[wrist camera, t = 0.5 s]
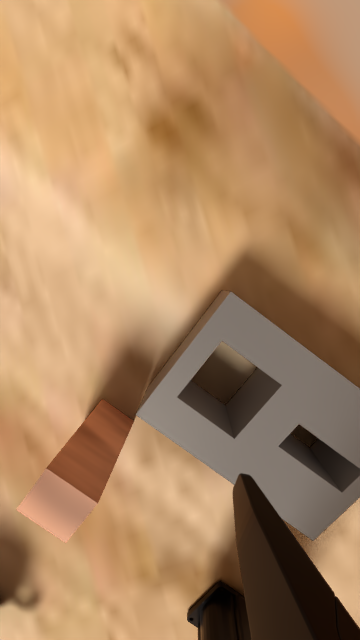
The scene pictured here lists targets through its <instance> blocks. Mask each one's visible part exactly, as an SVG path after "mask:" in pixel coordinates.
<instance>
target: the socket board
mask: <svg viewBox="0 0 360 640" xmlns="http://www.w3.org/2000/svg"><path fill="white" fill-rule="evenodd" d="M221 341H223V342H224V343H226V344H227V345H228V346H230V347H231V348H232V349H234V350H235V351H236V352H238V353H239V354H240V355H242V356H243V357H244V358H246V359H247V360H249V361H250V362H251V363H253V364H254V365H255V366H257V367H258V368H257V369H256V370H255V371H254V373H253V374H252V375H251V376H250V377H249V378H248V380H247V381H246V382H245V383H244V384H243V385H242V387H241V388H240V389H239V390H238V391H237V393H236V394H235V395H234V396H233V397H232V398H231V400H230V401H229V402H228V403H227V404H226V405H224V404H223V403H221V402H220V401H219V400H217V399H216V398H214V397H213V396H212V395H210V394H209V393H208V392H206V391H205V390H203V389H202V388H201V387H199V386H198V385H197V384H195V383H194V382H192V381H191V379H192V378H193V376H194V375H195V374H196V373H197V371H198V370H199V369H200V368H201V366H202V365H203V364H204V363H205V361H206V360H207V359H208V358H209V356H210V355H211V354H212V353H213V351H214V350H215V349H216V348H217V346H218V345H219V344H220V343H221ZM136 415H137V416H138V417H139V418H141V419H142V420H144V421H145V422H146V423H148V424H149V425H151V426H152V427H154V428H155V429H156V430H158V431H159V432H161V433H162V434H163V435H165V436H166V437H168V438H169V439H170V440H172V441H173V442H175V443H176V444H177V445H179V446H180V447H182V448H183V449H185V450H186V451H187V452H189V453H190V454H192V455H193V456H194V457H196V458H197V459H199V460H200V461H201V462H203V463H204V464H206V465H207V466H208V467H210V468H211V469H213V470H214V471H215V472H217V473H218V474H220V475H221V476H223V477H224V478H225V479H227V480H228V481H230V482H231V483H232V484H234V485H235V483H236V480H237V477H238V475H239V474H240V473H243V474H249V475H251V476H252V478H253V479H254V480H255V482H256V483H257V485H258V486H259V487H260V489H261V490H262V492H263V493H264V495H265V496H266V497H267V499H268V500H269V502H270V503H271V504H272V506H273V507H274V509H275V510H276V511H277V513H278V514H279V516H280V517H281V518H282V519H283V520H284V521H286V522H287V523H289V524H290V525H292V526H293V527H294V528H296V529H297V530H299V531H300V532H301V533H303V534H304V535H306V536H307V537H308V538H310V539H311V540H313V541H314V540H315V539H316V538H317V537H318V536H319V535H320V534H321V533H322V532H323V531H324V530H325V529H327V528H328V527H329V526H330V525H331V524H332V523H333V522H334V521H335V520H336V519H337V518H338V517H339V516H340V515H341V514H343V513H344V512H345V511H346V510H347V509H348V508H349V507H350V506H351V505H352V504H353V503H354V502H355V501H356V500H357V499H358V498H360V389H359V388H358V387H357V386H356V385H354V384H353V383H352V382H350V381H349V380H348V379H346V378H345V377H344V376H342V375H341V374H340V373H338V372H337V371H336V370H334V369H333V368H332V367H330V366H329V365H328V364H326V363H325V362H324V361H322V360H321V359H320V358H318V357H317V356H316V355H314V354H313V353H312V352H310V351H309V350H308V349H306V348H305V347H304V346H302V345H301V344H300V343H299V342H297V341H296V340H295V339H293V338H292V337H291V336H289V335H288V334H287V333H285V332H284V331H283V330H281V329H280V328H279V327H277V326H276V325H275V324H273V323H272V322H271V321H269V320H268V319H267V318H265V317H264V316H263V315H261V314H260V313H259V312H257V311H256V310H255V309H253V308H252V307H251V306H249V305H248V304H247V303H245V302H244V301H243V300H242V299H240V298H239V297H238V296H236V295H235V294H234V293H232V292H231V291H224V290H222V291H221V292H220V294H219V295H218V296H217V298H216V299H215V300H214V301H213V303H212V304H211V305H210V307H209V308H208V309H207V311H206V312H205V313H204V315H203V316H202V317H201V318H200V320H199V321H198V322H197V324H196V325H195V326H194V328H193V329H192V330H191V331H190V333H189V334H188V335H187V337H186V338H185V339H184V341H183V342H182V343H181V345H180V346H179V347H178V348H177V350H176V351H175V352H174V354H173V355H172V356H171V358H170V359H169V360H168V362H167V363H166V364H165V365H164V367H163V368H162V369H161V371H160V372H159V373H158V375H157V376H156V377H155V379H154V380H153V381H152V382H151V384H150V385H149V386H148V388H147V390H146V393H145V395H144V397H143V399H142V402H141V404H140V406H139V408H138V410H137V413H136ZM299 424H300V425H301V426H302V427H304V428H305V429H306V430H308V431H309V432H311V433H312V434H313V435H315V436H316V437H317V438H319V439H318V440H317V441H316V442H315V443H314V444H313V445H312V446H311V447H310V448H309V447H308V446H306V445H305V444H304V443H302V442H301V441H300V440H298V439H297V438H296V437H294V436H293V435H291V434H290V433H291V432H292V431H293V430H294V429H295V428H296V427H297V426H298V425H299Z"/></svg>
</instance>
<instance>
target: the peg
mask: <svg viewBox="0 0 360 640" xmlns="http://www.w3.org/2000/svg"><path fill="white" fill-rule="evenodd" d="M133 422H134V421H133V420H132V419H130V418H129V417H127V416H126V415H125V414H123V413H122V412H120V411H119V410H118V409H116V408H115V407H113V406H112V405H111V404H109V403H108V402H106V401H105V400H103V399H102V400H101V401H100V402H99V404H98V405H97V406H96V407H95V409H94V410H93V411H92V412H91V414H90V415H89V416H88V417H87V418H86V420H85V421H84V422H83V423H82V425H81V426H80V427H79V428H78V430H77V431H76V432H75V433H74V435H73V436H72V437H71V438H70V440H69V441H68V442H67V443H66V445H65V446H64V447H63V448H62V449H61V451H60V452H59V453H58V454H57V456H56V457H55V458H54V459H53V461H52V462H51V463H50V464H49V466H48V467H47V468H46V469H45V471H44V472H43V474H42V475H41V476H40V478H39V479H38V480H37V482H36V483H35V485H34V486H33V487H32V489H31V490H30V491H29V493H28V494H27V496H26V497H25V498H24V500H23V501H22V502H21V504H20V505H19V507H18V508H17V509H16V510H17V511H19V512H20V513H22V514H23V515H25V516H26V517H28V518H29V519H31V520H32V521H34V522H35V523H37V524H38V525H40V526H41V527H43V528H44V529H45V530H47V531H48V532H50V533H51V534H53V535H54V536H56V537H57V538H59V539H60V540H62V541H63V542H65V543H66V542H67V541H68V540H69V538H70V537H71V536H72V535H73V534H74V532H75V531H76V530H77V529H78V527H79V526H80V525H81V524H82V522H83V521H84V520H85V519H86V517H87V516H88V515H89V514H90V512H91V511H92V510H93V509H94V507H95V506H96V505H97V504H98V502H99V499H100V497H101V495H102V493H103V490H104V488H105V486H106V483H107V481H108V479H109V477H110V474H111V472H112V470H113V468H114V465H115V463H116V461H117V458H118V456H119V454H120V452H121V449H122V447H123V445H124V443H125V440H126V438H127V436H128V433H129V431H130V429H131V427H132V424H133Z"/></svg>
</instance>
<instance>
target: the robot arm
mask: <svg viewBox="0 0 360 640" xmlns="http://www.w3.org/2000/svg"><path fill="white" fill-rule="evenodd" d="M233 505H234V518H235V531H236V543H237V551H238V558H239V564H240V570H241V576H242V582H243V588H244V595H245V597H243V596H242V595H240V594H239V593H237V592H236V591H235V590H233V589H232V588H230V587H229V586H227V585H226V584H224V583H223V582H218V583H217V584H216V585H215V586H214V587H213V588H212V589H211V590H210V591H209V592H208V593H207V594H206V595H205V596H204V597H203V598H202V599H201V600H200V601H199V602H198V603H197V604H196V605H195V606H194V607H193V608H192V609H191V610H190V611H189V612H188V613H187V620H188V622H190V623H191V624H193V625H194V626H196V627H197V628H198V640H360V628H359V627H358V625H357V624H356V623H355V621H354V620H353V619H352V617H351V616H350V614H349V613H348V612H347V610H346V609H345V607H344V606H343V605H342V603H341V602H340V600H339V599H338V598H337V597H336V596H335V594H334V592H333V591H332V589H331V588H330V586H329V585H328V583H327V582H326V581H325V579H324V578H323V576H322V575H321V574H320V572H319V571H318V569H317V568H316V567H315V565H314V564H313V562H312V561H311V559H310V558H309V557H308V555H307V554H306V552H305V551H304V550H303V548H302V547H301V545H300V544H299V543H298V541H297V540H296V538H295V537H294V535H293V534H292V533H291V531H290V530H289V528H288V527H287V526H286V524H285V523H284V521H283V520H282V519H281V517H280V516H279V514H278V513H277V511H276V510H275V509H274V507H273V506H272V504H271V503H270V502H269V500H268V499H267V497H266V496H265V495H264V493H263V492H262V490H261V489H260V487H259V486H258V485H257V483H256V482H255V480H254V479H253V478H252V476H251V475H249V474H243V473H240V474H239V475H238V477H237V480H236V483H235V485H234V488H233Z"/></svg>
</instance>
